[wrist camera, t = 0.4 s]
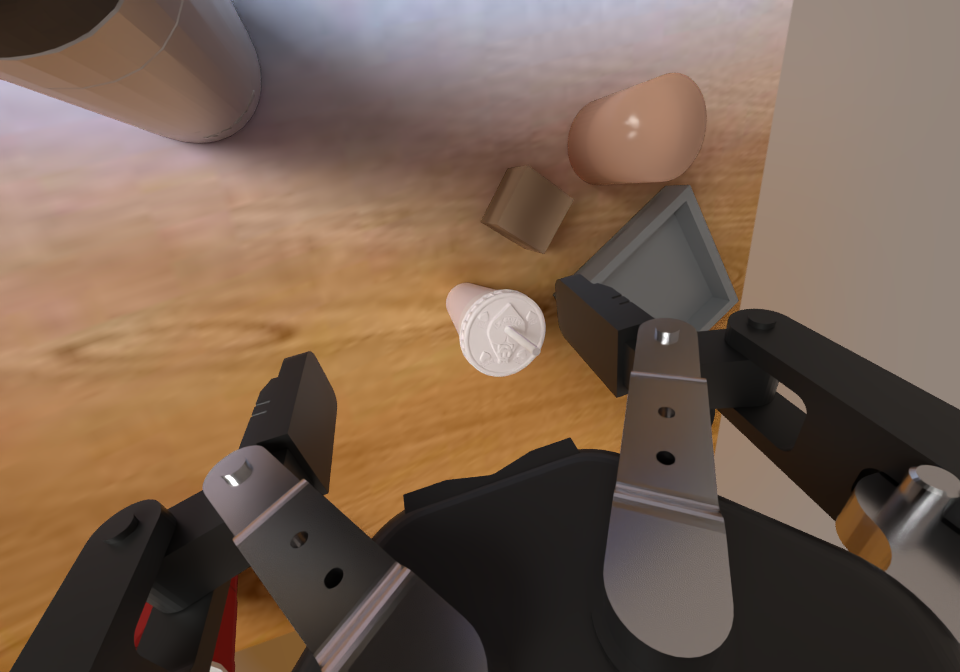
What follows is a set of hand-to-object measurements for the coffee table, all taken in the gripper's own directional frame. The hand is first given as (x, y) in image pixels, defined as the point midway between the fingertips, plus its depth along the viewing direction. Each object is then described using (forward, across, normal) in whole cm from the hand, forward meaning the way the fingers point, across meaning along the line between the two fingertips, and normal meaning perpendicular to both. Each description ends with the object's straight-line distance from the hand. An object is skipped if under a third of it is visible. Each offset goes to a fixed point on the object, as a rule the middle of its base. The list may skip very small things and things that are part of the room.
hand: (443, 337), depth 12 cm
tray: (+22, -23, +16) cm, 35 cm away
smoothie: (+21, -3, +10) cm, 23 cm away
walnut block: (+23, -10, +3) cm, 25 cm away
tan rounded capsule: (+24, -19, 0) cm, 31 cm away
